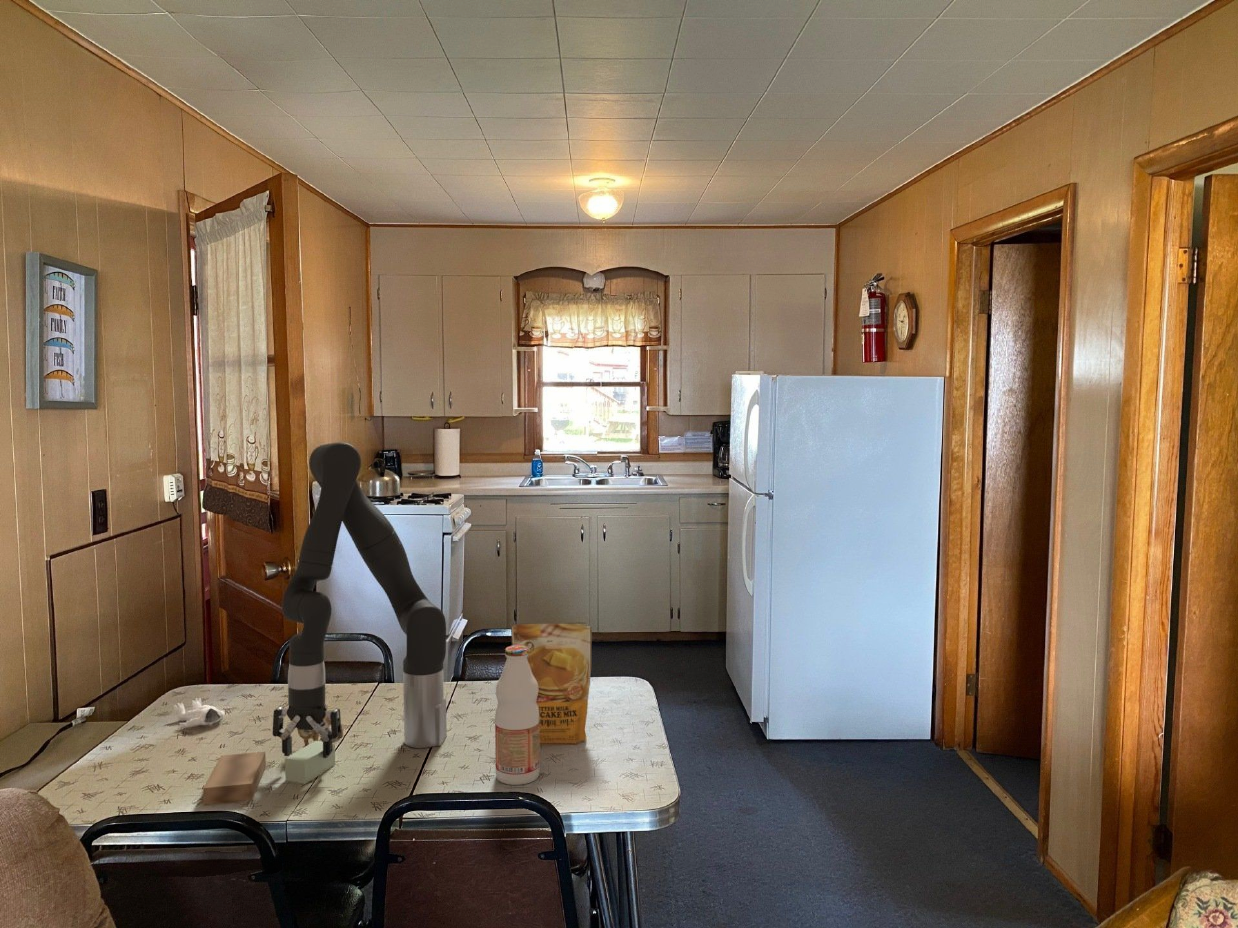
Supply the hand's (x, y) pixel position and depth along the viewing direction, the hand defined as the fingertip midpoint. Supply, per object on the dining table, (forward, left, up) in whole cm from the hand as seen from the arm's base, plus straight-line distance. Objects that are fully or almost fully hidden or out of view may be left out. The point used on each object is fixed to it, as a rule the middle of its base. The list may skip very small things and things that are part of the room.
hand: (307, 755), depth 186 cm
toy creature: (+38, -27, -4) cm, 47 cm away
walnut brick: (+12, +7, -4) cm, 15 cm away
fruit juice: (-46, 0, -4) cm, 46 cm away
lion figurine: (+3, -15, -4) cm, 15 cm away
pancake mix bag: (-51, -20, -4) cm, 55 cm away
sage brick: (-1, 0, -4) cm, 4 cm away
